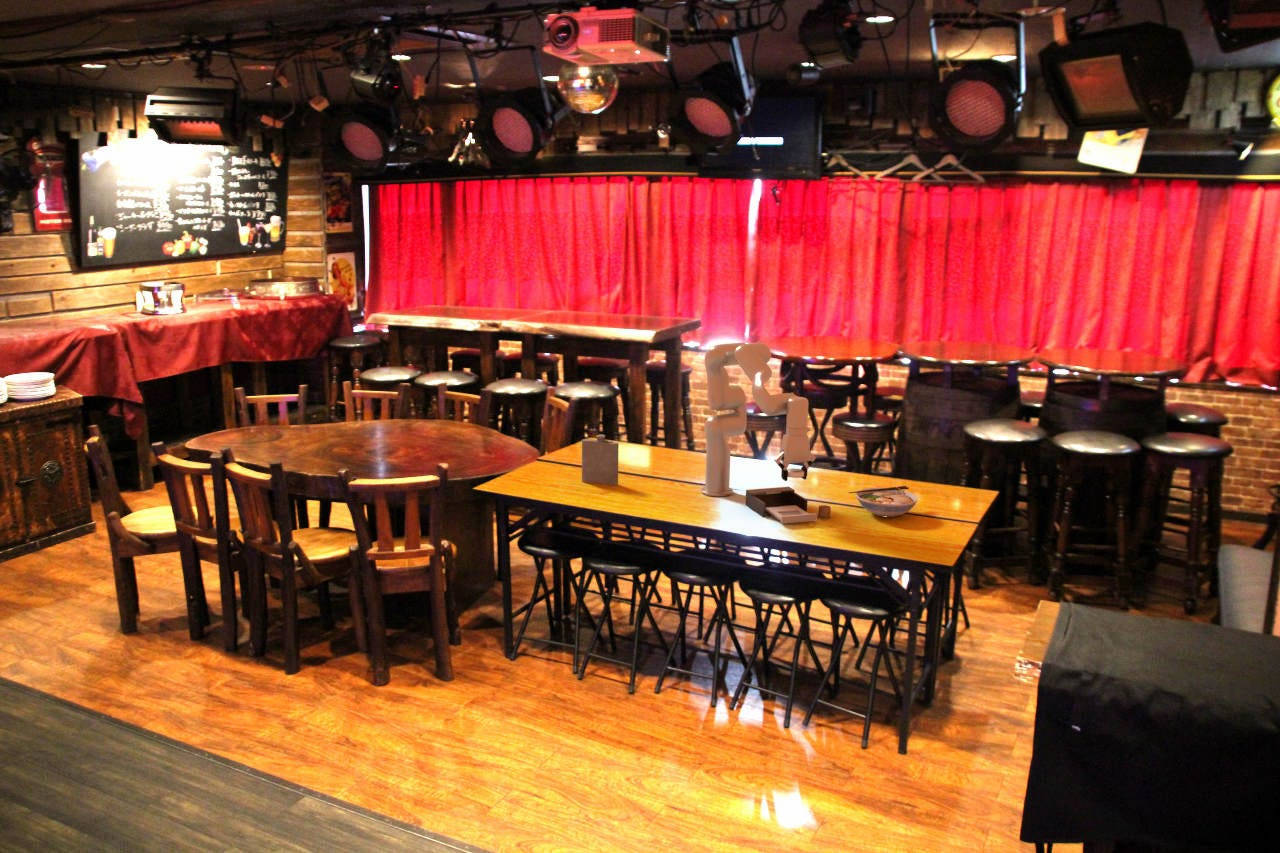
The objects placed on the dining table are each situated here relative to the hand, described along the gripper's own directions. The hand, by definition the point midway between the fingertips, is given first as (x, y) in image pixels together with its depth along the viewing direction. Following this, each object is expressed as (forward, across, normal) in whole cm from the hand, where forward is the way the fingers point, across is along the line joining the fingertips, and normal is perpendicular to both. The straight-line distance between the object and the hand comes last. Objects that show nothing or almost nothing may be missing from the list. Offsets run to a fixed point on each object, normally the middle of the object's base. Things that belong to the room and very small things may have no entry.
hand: (794, 478), depth 380 cm
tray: (+14, 0, -2) cm, 15 cm away
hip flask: (+16, +54, -67) cm, 87 cm away
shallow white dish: (-1, 0, 0) cm, 1 cm away
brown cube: (+16, -13, 0) cm, 20 cm away
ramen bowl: (+16, -37, +3) cm, 40 cm away
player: (+16, 0, -14) cm, 21 cm away
